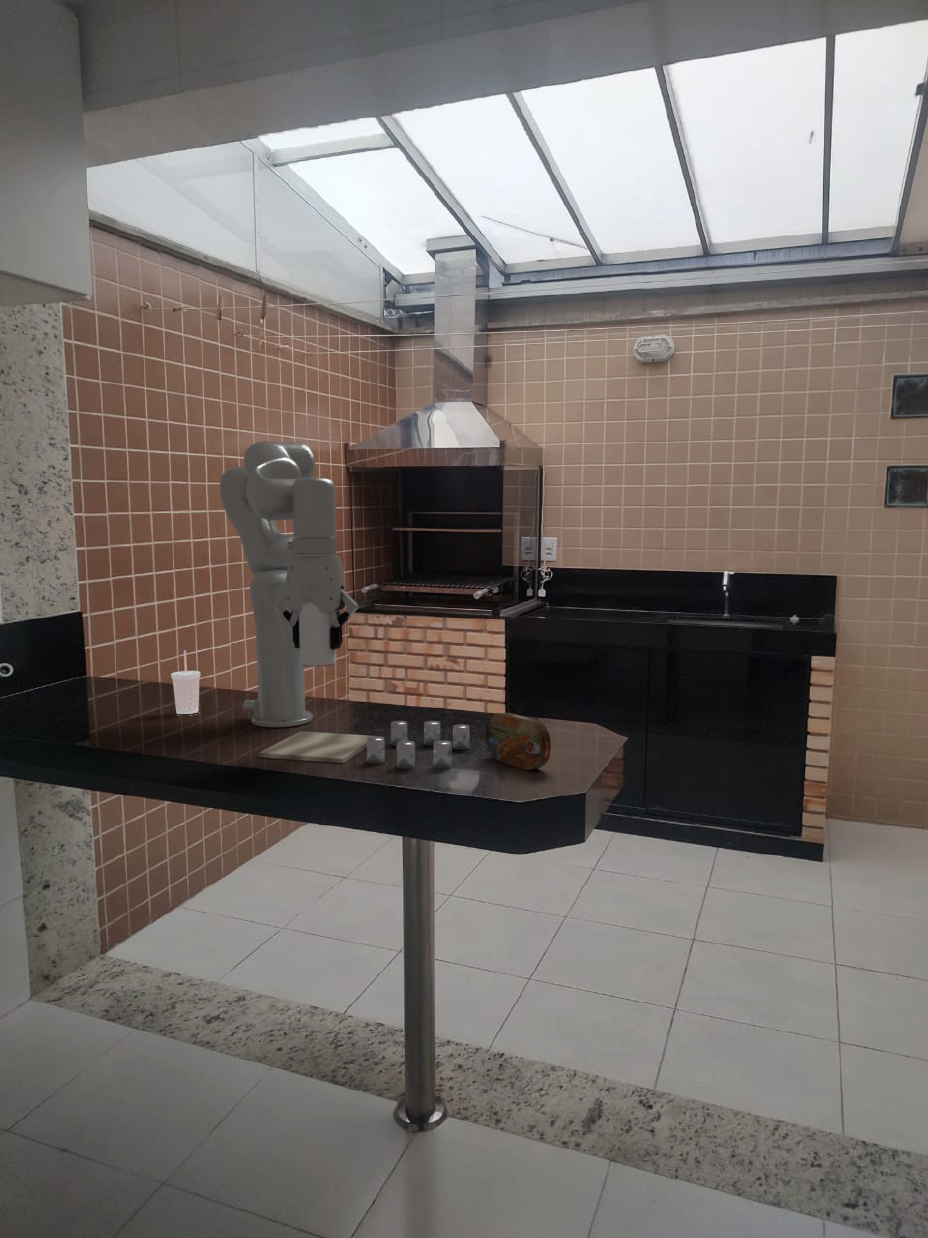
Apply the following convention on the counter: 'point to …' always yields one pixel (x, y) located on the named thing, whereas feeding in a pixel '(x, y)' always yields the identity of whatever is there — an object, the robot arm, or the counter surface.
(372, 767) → the counter surface
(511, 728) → the tin
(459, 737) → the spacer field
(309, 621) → the can
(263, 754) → the board
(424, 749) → the counter surface
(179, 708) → the beverage cup
